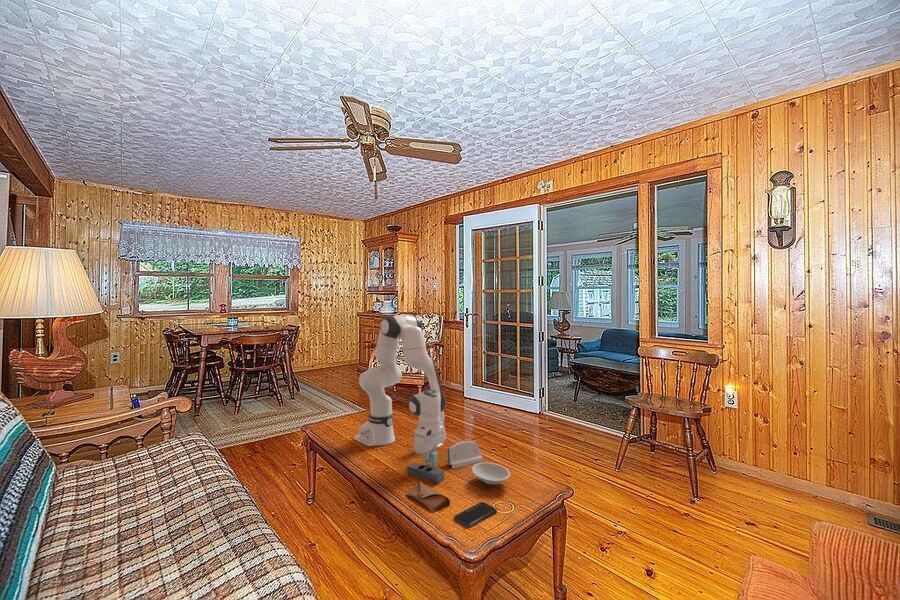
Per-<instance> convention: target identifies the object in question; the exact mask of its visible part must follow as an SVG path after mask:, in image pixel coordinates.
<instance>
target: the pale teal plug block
mask: <svg viewBox="0 0 900 600" xmlns="http://www.w3.org/2000/svg"><path fill="white" fill-rule="evenodd" d="M429 454H430V455H431V456H430V457H431V458H430V459H426V458H425V453H423V459H424V465H426V466H429V465H430V464H431V466H430V467H433V468H436V467H437V466H438V460H439V459H438V458H439V452H438V451H436V452H434V451H432V449H431V450H429Z"/></svg>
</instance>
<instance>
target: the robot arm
mask: <svg viewBox="0 0 900 600" xmlns="http://www.w3.org/2000/svg"><path fill="white" fill-rule="evenodd" d="M379 328H380V330H379V332H378V336H377V341H376V347H375V351H374V357H375V358H376V360H377V361H378V362H379V366H378V367H375V368H369V369H367V370H365V371H362V373H360V375H359V378H358V383H359V385H360V386H359V387H360V388H361V389H362V390H364V391H365V393H367V395H368V397H369V404H370V413H369V414H368V415H366V417H367V418H368V419H367V421H366V422H364V423H363V424H362V425H361V426H360V427H359V429H358V434H356V435H354V437H353V440H354V441H357V442H359V443H360V444H363V445H365V446H366V447H367V446H368V447H375V446H385V445H389V444H393V443H394V442H395V441H396V437H395V433H394V427H393V419H394V413H393V403H392V402H393V401H392V398H391V397H390V396H389V395H387V394H386V390H385V388H389V387H392V386H394V385H396V384H399V383H400V382H401V381H402V378H403V372H402V370H401V368H400V367H399V366H398V364H397V355H398V349H399V348H398V347H399V342H400V340H401V343H402V350H403V351H402V352H403V353H402V355H403V359H404V362H405V363H406V364H407V365H408V366H409V367H411V368H413V369H416V370H419V371H421V372H424V373H425V374H426V376H427V381H428V384H429V389H425V390H423V391H422V392H421V393H417V394H413V395H412V396H410V398H409V401H408V410H409V412H410V413H411V414H412V415H414V416H416V417H419V416H421V423H420V424H419V423H418V426H417V427H416V428H415V429H414V431H413V435H414V437H413V438H414V439H413V452H414V453H415V454H417V455H424V453H425V458H426V459H430V458H431V457H430V456H431V455H430V454H429V450H430V449H431V451H434V452H437V449H438V447H439V446H438V445H439V444H440V443H444V442H445V441H446V438H447V434H446V428H445V423H443V422H440V412H442V411H444V409H445V408H446V406H447V398H446V396H445V393H444V391H443V388H442V384H441V381H440V377H439V373H438V370H437V366H436V364H435V360H433V359H432V358H431V357H430V356H429V354H428V351H427V346H426V341H425V335H424V333H423V330H422V328H423V324H422V320H421V318H420V317H419V316H418V315H414V314H411V315H410V314H397V315H387V316H385V317H382V319H381V322H380V324H379ZM425 458H424V459H425Z"/></svg>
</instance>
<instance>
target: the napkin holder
mask: <svg viewBox="0 0 900 600" xmlns="http://www.w3.org/2000/svg"><path fill="white" fill-rule="evenodd" d="M446 460H447V463H446V464H447V466H451V468H452V469H457V468H460V467H461V466H462V467H465V466H470V465H473V464H474V465H475V464H478V463H483V462H484V460H483V456H482V454H481V451H480V447H479V444H478V443H477V442H475V441H460V442H457V443H455V444H452V445H451V446H449V447H448V448H447V449H446ZM462 467H461V468H462Z"/></svg>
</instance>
